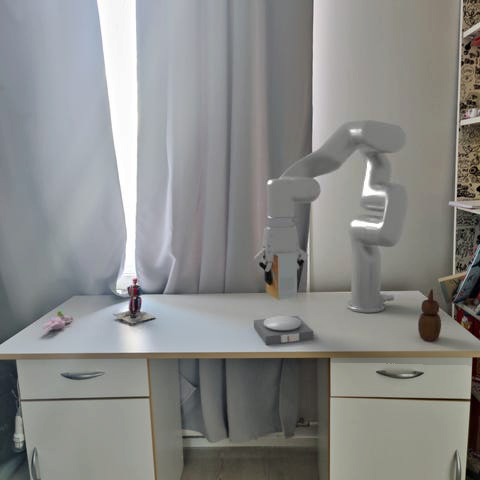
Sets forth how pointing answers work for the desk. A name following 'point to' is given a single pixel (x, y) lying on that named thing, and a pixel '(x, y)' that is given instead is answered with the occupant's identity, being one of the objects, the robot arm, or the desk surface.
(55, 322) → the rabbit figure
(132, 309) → the statue
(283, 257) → the small box
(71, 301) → the desk surface
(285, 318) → the scale
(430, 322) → the wooden figurine
